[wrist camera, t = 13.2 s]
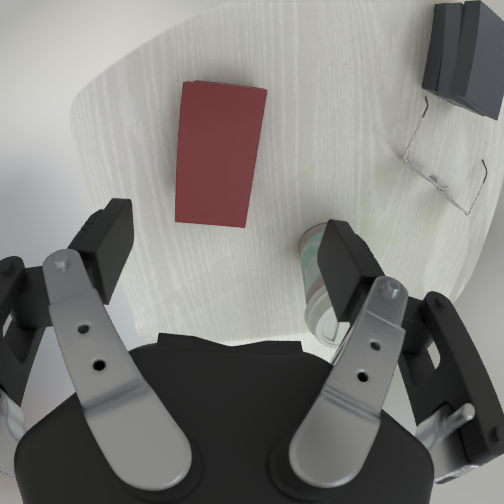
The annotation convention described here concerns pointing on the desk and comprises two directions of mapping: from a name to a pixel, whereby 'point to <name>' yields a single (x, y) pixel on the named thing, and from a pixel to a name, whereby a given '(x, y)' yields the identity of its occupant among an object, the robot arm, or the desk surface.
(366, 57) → the desk surface
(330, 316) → the coffee cup
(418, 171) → the eyeglasses
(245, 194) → the thin oxblood book
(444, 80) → the grey books
